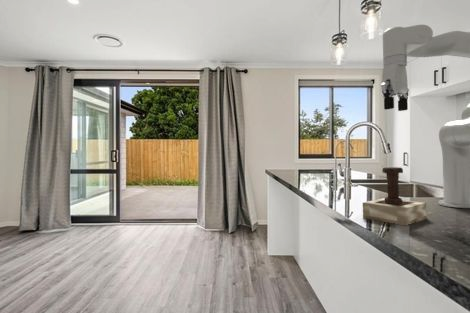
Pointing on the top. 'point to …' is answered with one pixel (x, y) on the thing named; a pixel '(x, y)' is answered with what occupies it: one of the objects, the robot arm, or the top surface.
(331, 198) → the top surface
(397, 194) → the bolt
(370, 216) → the socket block
